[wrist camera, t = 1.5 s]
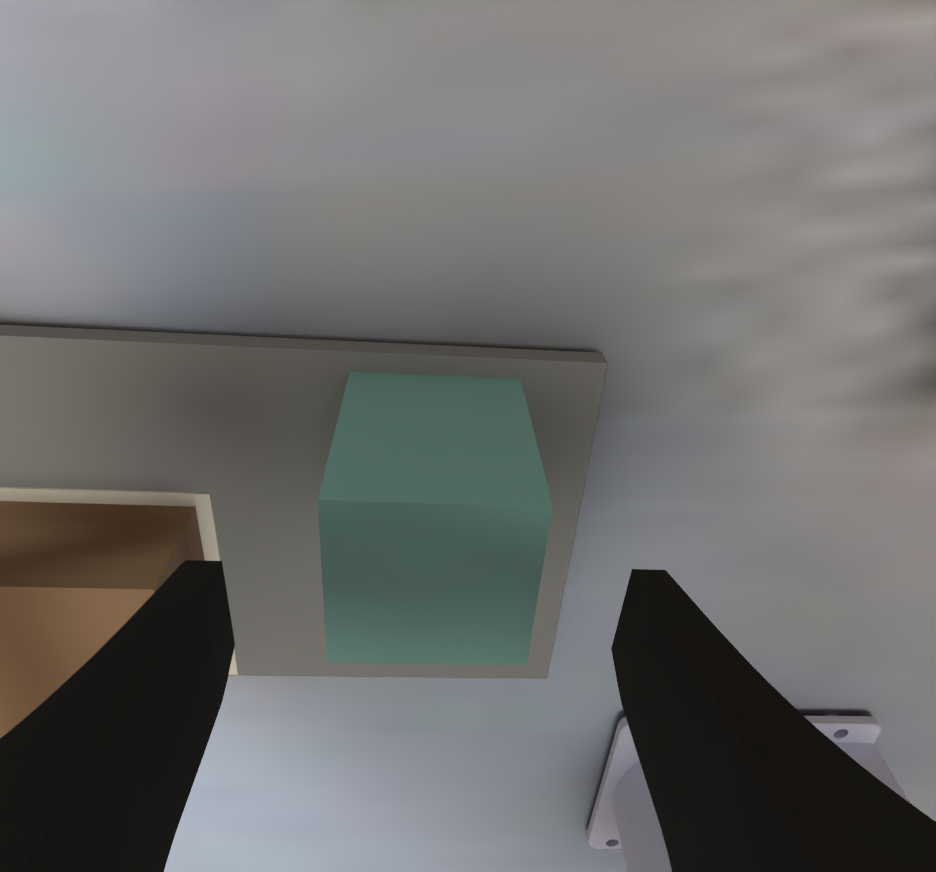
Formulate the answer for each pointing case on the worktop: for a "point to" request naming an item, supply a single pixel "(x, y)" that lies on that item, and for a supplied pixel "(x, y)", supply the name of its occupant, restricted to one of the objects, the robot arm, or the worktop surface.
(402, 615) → the teal block
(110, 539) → the walnut slab
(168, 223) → the worktop surface
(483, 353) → the build mat
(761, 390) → the worktop surface
